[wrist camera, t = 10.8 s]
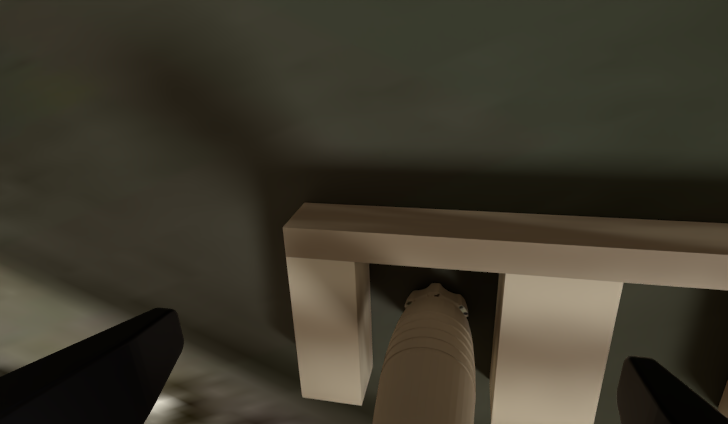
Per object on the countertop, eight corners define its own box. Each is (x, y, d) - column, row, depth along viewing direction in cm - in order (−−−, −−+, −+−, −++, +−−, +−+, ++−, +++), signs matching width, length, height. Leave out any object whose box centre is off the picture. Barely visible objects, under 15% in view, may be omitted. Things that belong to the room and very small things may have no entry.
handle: (449, 238, 23) (413, 574, 9) (507, 338, 24) (550, 751, 11) (366, 275, 24) (236, 598, 11) (426, 365, 26) (375, 747, 13)
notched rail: (794, 417, 22) (837, 473, 20) (319, 359, 28) (302, 397, 25) (875, 230, 19) (944, 268, 16) (304, 202, 24) (282, 227, 21)
